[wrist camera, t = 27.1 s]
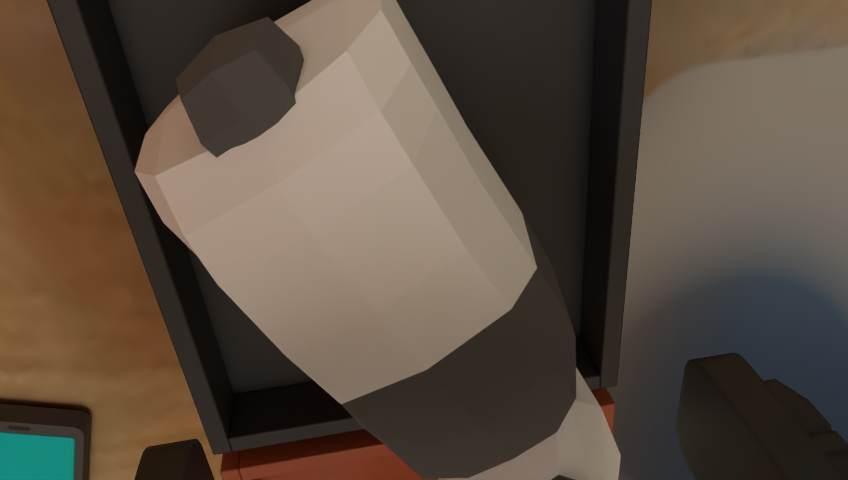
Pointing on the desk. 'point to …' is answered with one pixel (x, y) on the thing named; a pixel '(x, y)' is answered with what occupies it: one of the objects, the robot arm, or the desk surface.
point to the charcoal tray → (483, 115)
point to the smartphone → (43, 443)
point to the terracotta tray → (337, 456)
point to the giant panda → (376, 243)
